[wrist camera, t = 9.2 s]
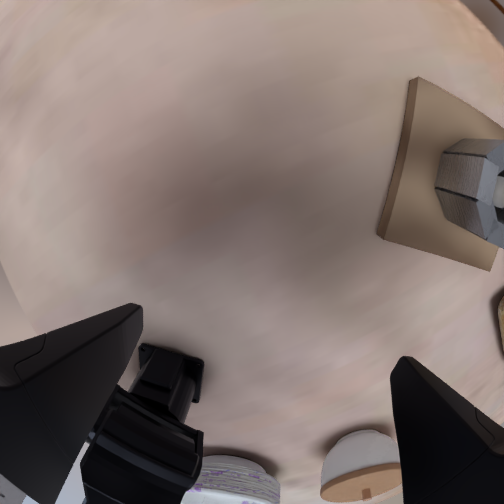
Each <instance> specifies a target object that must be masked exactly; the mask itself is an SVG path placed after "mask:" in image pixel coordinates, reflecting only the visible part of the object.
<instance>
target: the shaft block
mask: <svg viewBox="0 0 504 504" xmlns="http://www.w3.org/2000/svg"><path fill="white" fill-rule="evenodd" d="M463 138H471V139H499V140H504V128H502V127H501V126H500V125H498V124H497V123H496V122H494V121H493V120H491V119H490V118H489V117H487V116H486V115H484V114H483V113H481V112H480V111H478V110H477V109H475V108H474V107H472V106H471V105H469V104H468V103H466V102H464V101H463V100H461V99H459V98H458V97H456V96H454V95H453V94H451V93H449V92H447V91H446V90H444V89H442V88H440V87H438V86H436V85H435V84H433V83H431V82H429V81H427V80H425V79H423V78H421V77H416V78H414V79H412V80H410V83H409V91H408V98H407V105H406V111H405V118H404V124H403V129H402V135H401V140H400V145H399V150H398V154H397V159H396V163H395V168H394V172H393V176H392V180H391V184H390V188H389V192H388V196H387V200H386V203H385V207H384V211H383V214H382V217H381V221H380V224H379V228H378V231H377V234H378V235H379V236H380V237H381V238H382V239H383V240H387V241H390V242H394V243H397V244H401V245H405V246H408V247H412V248H415V249H418V250H422V251H425V252H429V253H432V254H435V255H439V256H442V257H445V258H449V259H452V260H455V261H458V262H461V263H465V264H468V265H471V266H474V267H477V268H480V269H483V270H486V271H489V272H490V270H491V268H492V265H493V262H494V260H495V257H496V254H497V251H498V248H499V247H498V246H496V245H494V244H492V243H489V242H487V241H485V240H484V239H482V238H480V237H478V236H476V235H475V234H473V233H471V232H469V231H467V230H465V229H463V228H461V227H459V226H458V225H456V224H454V223H452V222H450V221H448V220H447V219H446V218H445V217H444V214H443V211H442V208H441V205H440V203H439V200H438V197H437V195H436V192H435V188H436V187H437V186H434V183H435V179H436V175H437V171H438V166H439V162H440V157H441V153H443V150H445V149H447V148H448V147H450V146H452V145H453V144H455V143H456V142H458V141H460V140H461V139H463ZM443 154H444V153H443ZM492 199H493V203H494V206H496V207H499V208H504V177H501V176H497V181H496V185H495V190H494V194H493V198H492Z"/></svg>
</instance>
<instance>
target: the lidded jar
mask: <svg viewBox="0 0 504 504" xmlns="http://www.w3.org/2000/svg"><path fill="white" fill-rule="evenodd" d="M401 483H402V476H401V466H400V457H399V449H398V444H397V443H396V442H395V441H394V440H393V439H392V438H390V437H389V436H387V435H385V434H382V433H379V432H378V431H377V430H373V429H365V430H359V431H355V432H352V433H350V434H347V435H345V436H344V437H342V438H340V439H339V440H338V441H337V443H336V445H335V446H334V447H333V448H332V449H331V450H330V451H329V453H328V454H327V456H326V458H325V460H324V463H323V467H322V472H321V490H320V496H321V498H322V499H324V500H326V501H330V502H352V501H358V500H363V501H368V500H370V499H372V497H374V496H377V495H380V494H382V493H385V492H387V491H389V490H391V489H393V488H395V487H397V486H398V485H400V484H401Z"/></svg>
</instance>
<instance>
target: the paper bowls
mask: <svg viewBox="0 0 504 504" xmlns="http://www.w3.org/2000/svg"><path fill="white" fill-rule="evenodd" d="M181 504H280V483H279V482H278V481H277V480H276V479H275V478H274V477H272V476H271V475H269V474H266V472H265V470H264V469H263V468H262V467H261V466H260V465H258V464H257V463H255V462H253V461H250V460H247V459H244V458H240V457H235V456H228V455H212V456H206V457H203V459H202V468H201V472H200V475H199V477H198V479H197V481H196V483H195V484H194V486H193V487H192V488H191V489H190V490H188V491H186V492H185V494H184V496H183V499H182V501H181Z"/></svg>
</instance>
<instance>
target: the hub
mask: <svg viewBox="0 0 504 504" xmlns="http://www.w3.org/2000/svg"><path fill="white" fill-rule="evenodd" d="M443 153H444V154H443ZM443 153H441V157H440V162H439V166H438V171H437V175H436V179H435V183H434V186H437V187H436V188H435V192H436V195H437V197H438V200H439V203H440V205H441V208H442V211H443V214H444V217H445V218H446V219H447V220H448V221H450V222H452V223H454V224H456V225H458V226H459V227H461V228H463V229H465V230H467V231H469V232H471V233H473V234H475V235H476V236H478V237H480V238H482V239H484V240H485V241H487V242H489V243H492V244H494V245H496V246H498V247H501V248H503V249H504V208H499V207H496V206H494V203H493V199H492V198H493V194H494V190H495V185H496V181H497V176H501V177H504V140H499V139H471V138H463V139H461V140H460V141H458V142H456V143H455V144H453V145H452V146H450V147H448V148H447V149H445V150H443Z"/></svg>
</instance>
